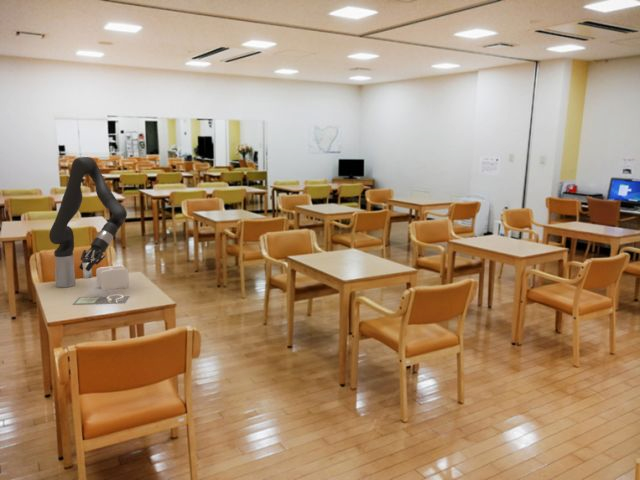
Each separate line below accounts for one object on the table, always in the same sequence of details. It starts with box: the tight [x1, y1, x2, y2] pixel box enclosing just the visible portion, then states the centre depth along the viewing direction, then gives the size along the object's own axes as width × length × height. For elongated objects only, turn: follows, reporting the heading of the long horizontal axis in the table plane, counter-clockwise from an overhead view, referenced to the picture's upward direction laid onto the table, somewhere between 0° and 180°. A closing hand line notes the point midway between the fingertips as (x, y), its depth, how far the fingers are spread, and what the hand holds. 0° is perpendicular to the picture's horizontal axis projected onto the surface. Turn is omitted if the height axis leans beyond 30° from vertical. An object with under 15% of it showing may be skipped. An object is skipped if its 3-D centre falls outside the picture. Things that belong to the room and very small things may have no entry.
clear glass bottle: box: [81, 257, 93, 279], centre depth 267 cm, size 4×4×10 cm
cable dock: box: [71, 294, 131, 306], centre depth 270 cm, size 25×12×3 cm, turn 97°
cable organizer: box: [95, 264, 130, 291], centre depth 294 cm, size 15×11×12 cm
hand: (83, 269), depth 265 cm, fingers closed on clear glass bottle, 4 cm apart
